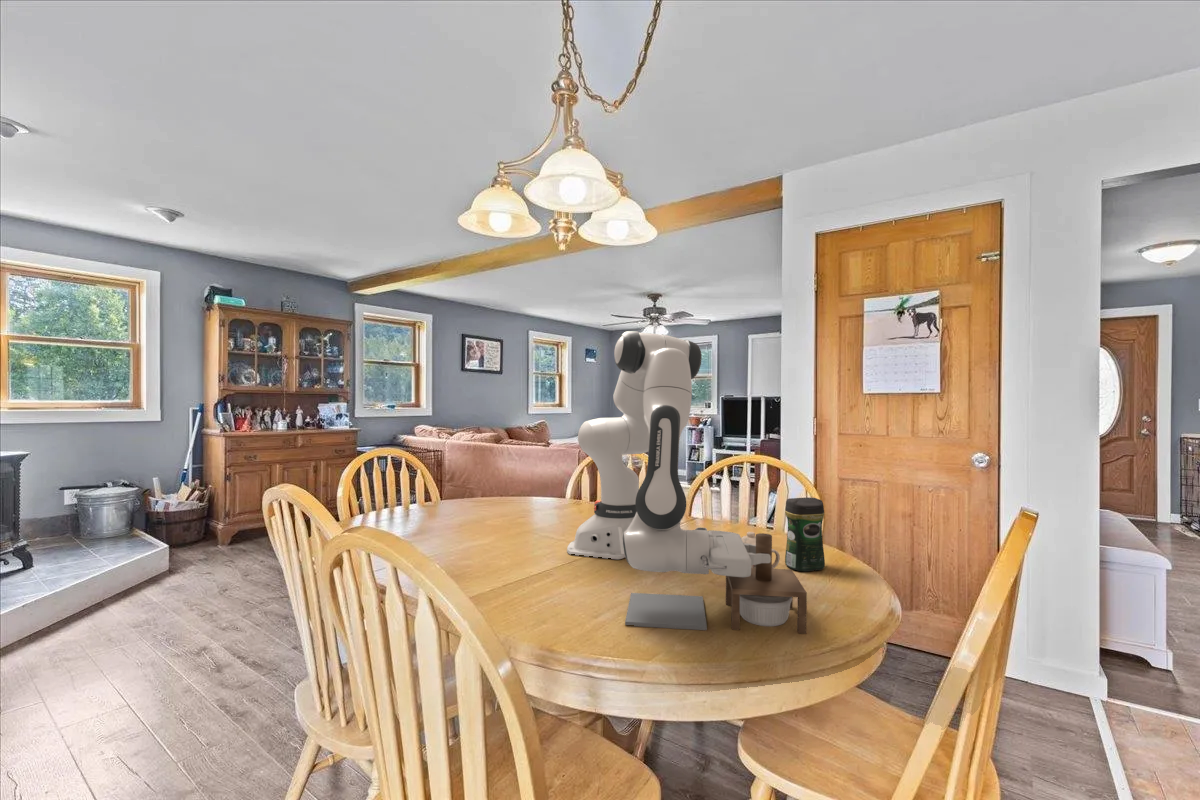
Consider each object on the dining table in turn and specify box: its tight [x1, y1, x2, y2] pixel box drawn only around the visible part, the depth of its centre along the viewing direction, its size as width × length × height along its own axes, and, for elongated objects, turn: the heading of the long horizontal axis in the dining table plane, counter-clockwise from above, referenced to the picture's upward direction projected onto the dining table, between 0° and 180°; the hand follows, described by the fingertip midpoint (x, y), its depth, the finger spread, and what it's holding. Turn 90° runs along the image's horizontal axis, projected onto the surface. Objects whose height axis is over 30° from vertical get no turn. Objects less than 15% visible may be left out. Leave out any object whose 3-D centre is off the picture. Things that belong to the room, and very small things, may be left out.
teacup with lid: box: [741, 531, 781, 569], centre depth 139 cm, size 12×9×12 cm
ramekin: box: [740, 594, 792, 627], centre depth 115 cm, size 11×11×5 cm
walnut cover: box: [725, 532, 808, 635], centre depth 115 cm, size 14×14×17 cm
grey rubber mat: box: [624, 592, 708, 631], centre depth 118 cm, size 16×16×1 cm
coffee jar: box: [784, 497, 826, 572], centre depth 148 cm, size 10×8×19 cm
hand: (768, 554), depth 115 cm, fingers closed on walnut cover, 3 cm apart
